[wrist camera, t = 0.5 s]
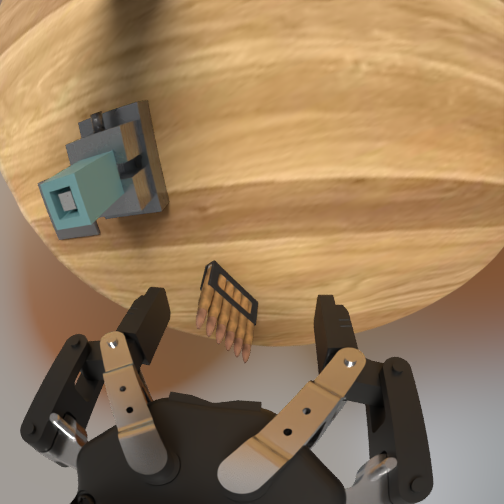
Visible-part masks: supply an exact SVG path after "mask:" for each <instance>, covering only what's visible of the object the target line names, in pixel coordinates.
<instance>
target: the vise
mask: <svg viewBox="0 0 504 504" xmlns="http://www.w3.org/2000/svg"><path fill="white" fill-rule="evenodd" d="M90 117H91V118H89V119H87V120H84V121H82V122H79V123H78V124H79V129H80V133H81V138H80V139H78V140H76V141H74V142H71V143H69V144H67V145H66V149H67V153H68V157H69V160H70V164H71V165H73V164H75V163H76V162H78V161H80V160H83V159H86V158H90V157H93V156H96V155H99V154H103V153H106V152H110V151H113V153H114V157H115V161H116V165H117V169H118V173H119V176H120V180H121V183H122V187H123V190H124V194H123V195H122V196H121V197H120V198H119V199H118V200H116V201H115V202H114V203H113V204H112V205H111V206H110V207H109V208H108V209H107V210H106V211H105V212H104V213H103V214H102V215H101V216H100V217H105V218H106V219H110V218H116V217H123V216H130V215H137V214H145V213H153V212H161V211H163V209H164V208H165V207H166V205H167V204H168V203H169V198H168V194H167V190H166V186H165V182H164V177H163V173H162V169H161V164H160V160H159V155H158V151H157V146H156V141H155V136H154V131H153V126H152V121H151V115H150V110H149V104H148V100H145V101H139V102H135V103H132V104H129V105H126V106H122V107H119V108H116V109H114V110H111V111H108V112H105V113H102V111H101V112H98V113H95V114H92V115H90ZM58 196H59V199H60V201H61V204H62V207H63V210H64V211H68V210H73V209H77V206H76V203H75V200H74V198H73V195H72V192H71V189H70V186H69V187H68V188H66V189H65V190H64V191H62V192H61V193H59V194H58Z"/></svg>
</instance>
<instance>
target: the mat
mask: <svg viewBox="0 0 504 504" xmlns="http://www.w3.org/2000/svg"><path fill="white" fill-rule="evenodd" d="M47 180H48V179H47ZM47 180H44V181H42V182H39V183H38V186H39V189H40V192H41V195H42V198H43V201H44V204H45V206H46V209H47V212H48V214H49V217H50V219H51V222H52V224H53V227H54V229H55V231H56V234H57V236H58V238H59V240H61V239H68V238H76V237H84V236H91V235H99V234H100V230H99V228H98V225H97V222H96V221H95V222H94V223H93V224H92V225H85V226H79V227H73V228H67V229H61V230H57V229H56V226H55V224H54V221H53V219H52V216H51V214H50V211H49V209H48V206H47V203H46V200H45V198H44V195H43V192H42V189H41V186H40V184H42V183H43V182H45V181H47Z"/></svg>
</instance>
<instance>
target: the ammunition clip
mask: <svg viewBox="0 0 504 504" xmlns="http://www.w3.org/2000/svg"><path fill="white" fill-rule="evenodd" d="M200 290H201V294H200V298H199V302H198V311H197V316H196V326H197V329H199V328H200V327H201V326H202V325H203V323H204V320H205V318H206V315H207V312H208V318H207V325H206V331H207V336H208V337H210V336H211V334H212V333H213V331H214V328H215V326H216V321H217V329H216V339H217V343H218V344H220V343H221V342H222V340H223V337H224V335H225V331H226V336H225V345H226V349H227V351H229V350H230V348H231V347H232V344H233V341H234V352H235V356H236V357H238V356H239V354H240V352H241V349H242V356H243V360H244V362H245V363H246V362H247V361H248V358H249V355H250V351H251V343H252V340H253V331H254V326H255V325H256V320H257V308H258V302H257V301H256V300H255V299H254V298H253V297H252V296H251V295H250V294H249V293H248V292H247V291H246V290H245V289H244V288H243V287H241V286H240V285H239V284H238V283H237V282H236V281H235V280H234V279H233V278H232V277H231V276H230V275H229V274H228V273H227V272H226V271H225V270H224V269H223V268H222V267H221V266H220V265H219V264H218V263H217V262H216V261H212V262H211V263H209V264H208V265H206V267H205V271H204V275H203V279H202V283H201V287H200Z"/></svg>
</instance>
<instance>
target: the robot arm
mask: <svg viewBox="0 0 504 504" xmlns="http://www.w3.org/2000/svg"><path fill="white" fill-rule="evenodd" d="M169 320H170V307H169V304H168V300H167V296H166V292H165V289H164V288H158V287H150V288H149V289H148V291H147V292H146V294H145V295H144V296H143V295H141V296H140V297H139V298H138V299H136V300H135V301H134V303H133V304H132V306H131V308H130V309H129V310H128V312H127V314H126V315H125V317H124V318H123V320H122V322H121V323H120V325H119V326H118V328H117V330H116V331H114V332H110V333H107V334H106V335H104V336H103V338H102V339H101V341H89V342H88V340H87V338H86V337H85V336H84V335H82V334H76V335H73V336H71V337H70V338H69V339H68V340H67V341H66V342H65V344H64V346H63V347H62V349H61V351H60V353H59V354H58V356H57V358H56V359H55V361H54V363H53V364H52V366H51V368H50V370H49V371H48V373H47V375H46V377H45V379H44V380H43V382H42V384H41V386H40V388H39V390H38V392H37V394H36V396H35V398H34V400H33V402H32V404H31V406H30V408H29V410H28V412H27V414H26V416H25V418H24V420H23V423H22V425H21V429H20V432H21V436H22V438H23V440H24V441H25V442H27V443H28V444H29V445H31V446H32V447H33V448H34V449H35V450H37V451H38V452H39V453H41V454H42V455H43V456H45V457H46V458H48V459H49V460H51V461H54V462H56V463H57V464H58V465H60V466H62V467H72V468H74V469H76V470H77V473H78V492H77V495H76V497H75V498H74V500H73V501H72V502H71V503H70V504H415V503H417V502H420V501H422V500H423V499H425V498H426V497H427V496H428V495H429V494H430V492H431V490H432V488H433V474H432V466H431V458H430V452H429V445H428V440H427V434H426V428H425V423H424V418H423V414H422V409H421V405H420V401H419V396H418V392H417V389H416V385H415V381H414V377H413V373H412V370H411V367H410V365H409V363H408V362H407V361H405V360H404V359H402V358H399V357H391V358H389V359H387V360H386V361H385V362H384V363H380V362H375V361H371V360H368V359H366V358H365V356H364V354H363V353H362V352H361V351H359V350H358V347H357V343H356V339H355V335H354V331H353V327H352V323H351V321H350V316H349V312H348V311H347V309H346V308H345V307H344V306H343V305H335V301H334V297H333V295H318V297H317V304H316V310H315V316H314V333H315V342H316V350H317V361H318V372H319V376H318V377H317V378H316V379H315V380H314V381H309V382H308V383H307V384H306V385H305V386H304V387H303V388H302V389H301V390H300V391H299V393H298V394H297V395H296V396H295V397H294V398H293V399H292V400H291V401H290V402H289V403H288V404H287V405H286V406H285V407H284V409H282V411H281V412H280V413H279V414H278V415H277V414H275V413H273V412H272V411H269V410H267V409H263V408H261V402H254V401H253V402H252V401H239V400H237V401H229V402H221V403H211V402H208V401H206V400H203V399H200V398H198V397H195V396H193V395H188V394H181V393H176V392H170V395H169V398H161V399H158V400H155V401H153V399H152V397H151V395H150V392H149V390H148V387H147V385H146V382H145V380H144V377H143V374H142V372H141V370H140V367H141V365H142V364H146V365H150V363H151V361H152V358H153V356H154V354H155V351H156V349H157V347H158V345H159V342H160V340H161V338H162V336H163V333H164V331H165V329H166V327H167V325H168V322H169ZM79 372H81V375H80V376H79V378H78V380H77V383H76V385H75V380H76V378H77V375H78V374H79ZM104 382H105V386H106V390H107V394H108V398H109V402H110V405H111V409H112V412H113V416H114V419H115V421H116V425H115V426H113V427H112V428H110V429H108V430H107V431H105V432H103V433H102V434H100V435H99V436H97V437H95V438H94V439H92V440H90V441H89V442H88V441H87V432H86V430H85V429H86V426H87V424H88V421H89V419H90V416H91V413H92V411H93V408H94V406H95V403H96V401H97V398H98V396H99V394H100V391H101V389H102V386H103V384H104ZM347 401H353V402H358V403H363V404H365V406H366V415H367V426H368V439H369V455H370V460H369V461H368V462H366V463H365V464H364V465H363V466H362V467H361V468H360V469H359V470H358V472H357V475H356V480H355V482H354V484H353V486H352V487H350V488H346V489H345V488H344V486H343V484H342V483H341V482H340V480H339V479H338V478H337V477H336V476H335V475H334V474H333V473H332V472H331V471H330V470H329V469H328V468H327V467H326V466H325V465H324V464H323V463H322V462H321V461H320V460H319V459H318V457H316V455H315V454H314V453H313V452H312V451H311V448H312V447H313V446H314V445H315V444H316V442H317V441H318V440H319V439H320V438H321V436H322V435H323V434H324V432H325V431H326V429H327V428H328V426H329V425H330V424H331V422H332V421H333V420H334V418H335V417H336V416H337V414H338V413H339V411H340V410H341V409H342V408H343V406H344V405H345V403H346V402H347Z"/></svg>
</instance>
